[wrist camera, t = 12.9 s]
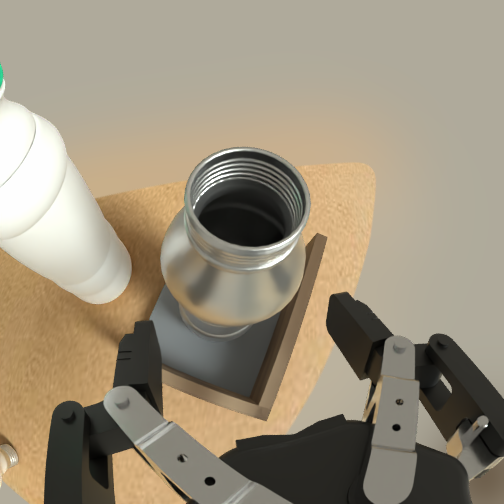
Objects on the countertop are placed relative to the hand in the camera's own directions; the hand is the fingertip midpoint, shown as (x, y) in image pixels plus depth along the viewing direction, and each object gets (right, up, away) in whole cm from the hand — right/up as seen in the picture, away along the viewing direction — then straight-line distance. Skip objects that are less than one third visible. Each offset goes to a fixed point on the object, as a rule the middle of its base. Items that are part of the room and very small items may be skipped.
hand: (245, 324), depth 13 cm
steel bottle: (-3, -2, +14) cm, 15 cm away
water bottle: (-15, +1, +15) cm, 21 cm away
